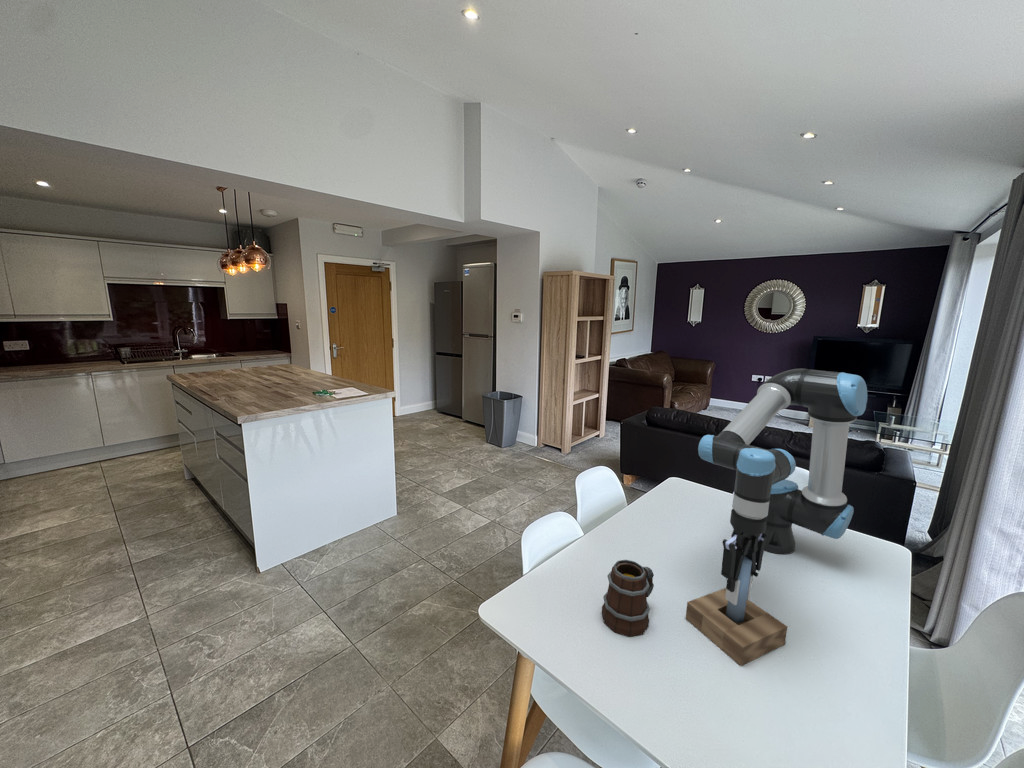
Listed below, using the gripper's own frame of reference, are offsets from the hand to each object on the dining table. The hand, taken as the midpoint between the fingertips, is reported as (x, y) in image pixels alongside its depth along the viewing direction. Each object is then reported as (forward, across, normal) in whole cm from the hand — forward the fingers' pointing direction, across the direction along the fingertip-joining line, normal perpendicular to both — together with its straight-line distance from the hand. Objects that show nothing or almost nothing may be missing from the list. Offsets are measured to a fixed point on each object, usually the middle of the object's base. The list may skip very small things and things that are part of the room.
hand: (737, 598), depth 103 cm
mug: (+10, +21, -14) cm, 27 cm away
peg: (+5, 0, 0) cm, 5 cm away
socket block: (+9, 0, 0) cm, 9 cm away
